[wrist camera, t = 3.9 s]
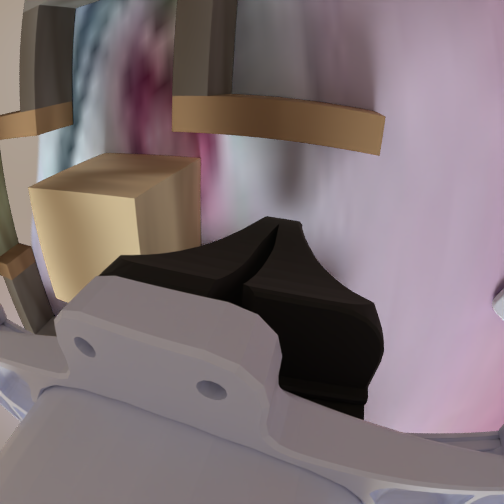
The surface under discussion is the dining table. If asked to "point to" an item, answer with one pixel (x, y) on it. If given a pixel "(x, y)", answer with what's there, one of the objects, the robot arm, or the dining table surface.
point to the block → (114, 214)
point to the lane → (183, 112)
